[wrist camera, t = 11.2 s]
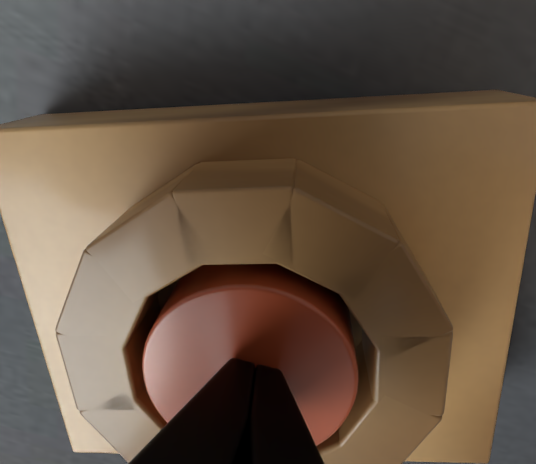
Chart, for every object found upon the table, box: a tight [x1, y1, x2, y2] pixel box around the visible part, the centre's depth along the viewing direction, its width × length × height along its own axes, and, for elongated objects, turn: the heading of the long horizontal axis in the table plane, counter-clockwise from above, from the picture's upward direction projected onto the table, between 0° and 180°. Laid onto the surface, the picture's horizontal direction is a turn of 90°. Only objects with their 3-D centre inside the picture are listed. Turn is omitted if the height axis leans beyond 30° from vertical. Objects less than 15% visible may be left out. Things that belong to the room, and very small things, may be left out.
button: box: [142, 264, 359, 446], centre depth 8 cm, size 4×4×2 cm
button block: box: [0, 90, 536, 464], centre depth 9 cm, size 10×8×4 cm
